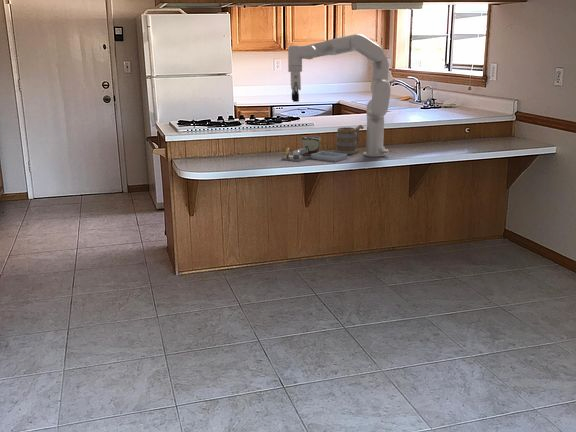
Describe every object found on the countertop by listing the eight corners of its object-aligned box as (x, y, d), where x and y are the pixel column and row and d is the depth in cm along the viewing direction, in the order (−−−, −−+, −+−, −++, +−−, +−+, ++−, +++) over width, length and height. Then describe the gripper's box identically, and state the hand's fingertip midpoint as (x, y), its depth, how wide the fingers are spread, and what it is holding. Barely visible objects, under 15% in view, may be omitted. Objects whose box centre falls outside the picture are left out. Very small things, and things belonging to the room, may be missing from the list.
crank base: (311, 158, 335) (311, 147, 334) (299, 161, 326) (298, 150, 325) (293, 156, 343) (293, 145, 341) (280, 159, 334) (280, 148, 332)
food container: (324, 154, 349) (324, 136, 346) (319, 155, 344) (319, 138, 341) (306, 152, 355) (306, 135, 352) (300, 153, 350) (300, 136, 347)
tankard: (345, 155, 345) (345, 128, 341) (331, 152, 355) (331, 126, 351) (370, 151, 356) (371, 125, 352) (356, 148, 366) (356, 123, 362)
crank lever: (297, 157, 331) (297, 149, 330) (291, 156, 334) (291, 148, 332) (310, 154, 341) (310, 146, 340) (305, 153, 343) (305, 145, 342)
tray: (347, 158, 334) (347, 154, 333) (335, 161, 325) (335, 157, 325) (322, 155, 344) (322, 151, 343) (310, 158, 335) (310, 154, 334)
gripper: (303, 69, 321) (303, 102, 325) (300, 68, 337) (300, 99, 342) (289, 69, 320) (289, 102, 325) (287, 68, 337) (287, 99, 342)
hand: (295, 100), depth 334 cm, fingers open, 9 cm apart
